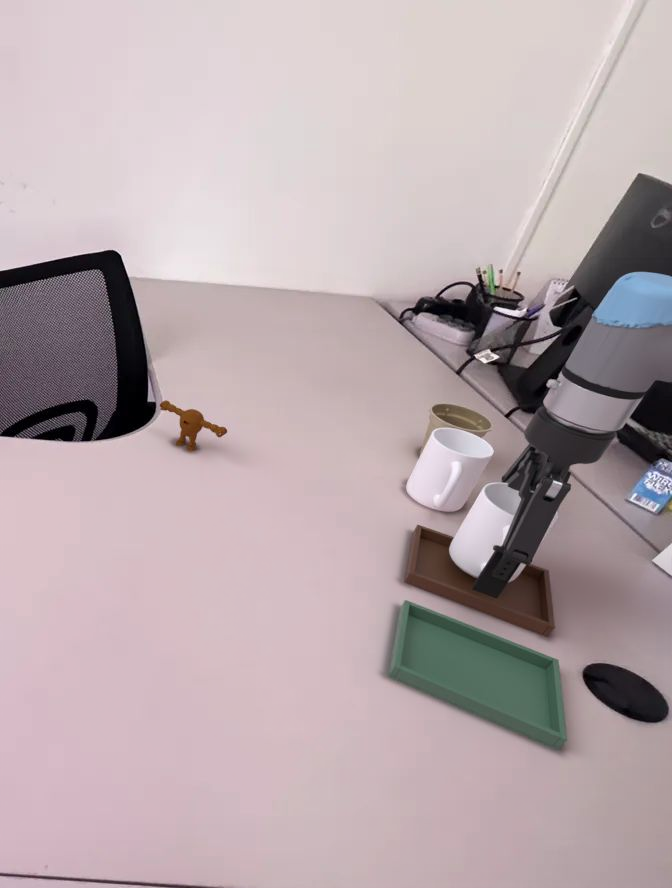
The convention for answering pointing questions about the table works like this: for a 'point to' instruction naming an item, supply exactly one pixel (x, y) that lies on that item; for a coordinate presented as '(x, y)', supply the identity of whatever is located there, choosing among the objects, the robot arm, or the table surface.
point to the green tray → (480, 673)
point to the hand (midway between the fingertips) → (484, 563)
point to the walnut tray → (441, 576)
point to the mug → (486, 528)
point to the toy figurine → (191, 425)
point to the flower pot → (456, 420)
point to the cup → (448, 469)
